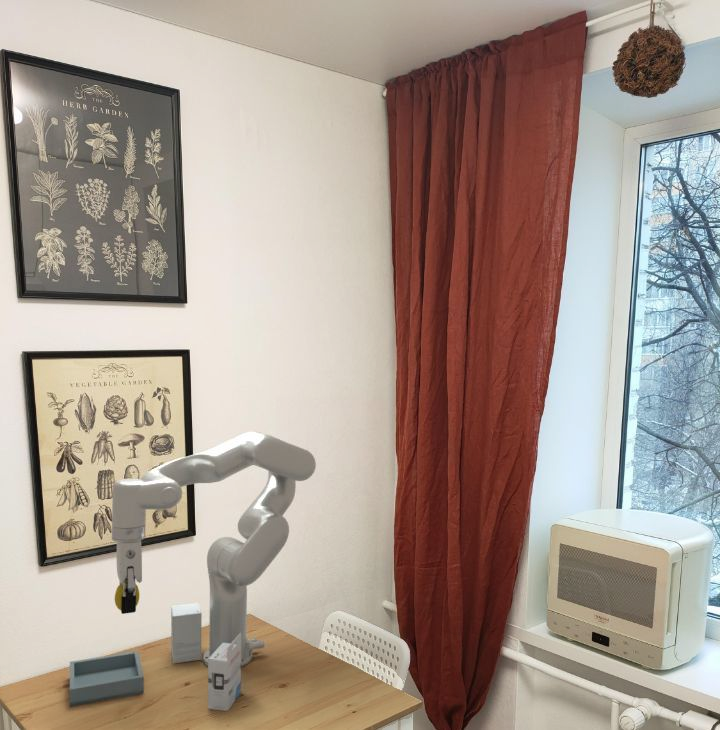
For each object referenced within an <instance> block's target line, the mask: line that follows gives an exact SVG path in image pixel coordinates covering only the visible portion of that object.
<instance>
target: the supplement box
mask: <svg viewBox="0 0 720 730" xmlns="http://www.w3.org/2000/svg"><path fill="white" fill-rule="evenodd" d="M200 607H201V606H200V604H199V602H192V603H185V604H176V605H171V606H170V608H171V609H170V610H171V613H170V614H171V617H170V618H171V623H170V624H171V625H170V626H171V627H170V631H171V633H170V634H171V636H170V637H171V638H170V642H171V643H170V644H171V645H170V652H171V657H172V664H175V665H176V664H179V663H185V662H186V663H187V662H194V661H199V660H202V622H203V621H202V616H203V615H202V611H201V608H200Z"/></svg>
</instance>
